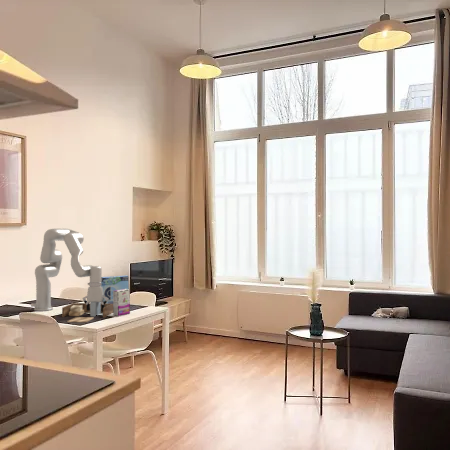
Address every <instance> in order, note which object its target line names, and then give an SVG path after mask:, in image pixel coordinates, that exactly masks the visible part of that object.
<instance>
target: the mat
mask: <svg viewBox="0 0 450 450" xmlns="http://www.w3.org/2000/svg"><path fill="white" fill-rule="evenodd" d="M94 317H95V316H87V317H83V316H74V317H73V318H71V319H68V320H67V323H88V322H90V321H91V320H93V319H94Z"/></svg>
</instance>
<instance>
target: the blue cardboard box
mask: <svg viewBox="0 0 450 450" xmlns="http://www.w3.org/2000/svg"><path fill="white" fill-rule="evenodd" d="M101 287H103V294H104V296H106V297H108V298H109V299H108V301H107V302H106V303H110V304H113V291H117V290H122V289H129V275H126V274H125V275H115V276H114V275H111V276H101ZM105 300H106V299H105V298H104V300H103V301H105Z"/></svg>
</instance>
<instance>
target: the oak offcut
mask: <svg viewBox="0 0 450 450" xmlns="http://www.w3.org/2000/svg"><path fill="white" fill-rule="evenodd" d="M84 314H85V312H84V310H81V311H80V312H71V311H70V312H69V315H68V316H69V317H81V316H82V315H84Z"/></svg>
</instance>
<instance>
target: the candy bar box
mask: <svg viewBox="0 0 450 450" xmlns="http://www.w3.org/2000/svg"><path fill="white" fill-rule="evenodd" d="M130 294H131V291H130V289H129V288H128V289H122V290H117V291H113V313H112V314H113V316H114V317H121V316H125V315H129V314H131V305H130V304H131V302H130V301H131V298H130V296H131V295H130Z"/></svg>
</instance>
